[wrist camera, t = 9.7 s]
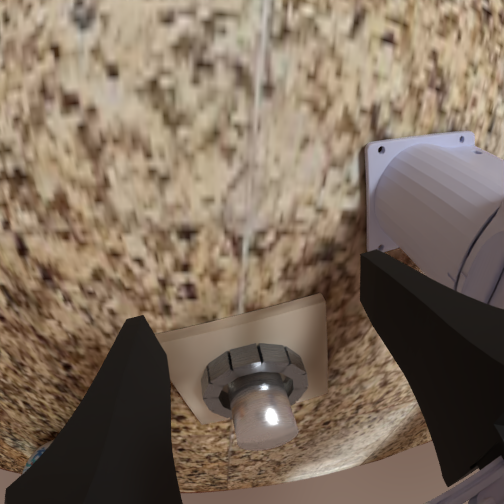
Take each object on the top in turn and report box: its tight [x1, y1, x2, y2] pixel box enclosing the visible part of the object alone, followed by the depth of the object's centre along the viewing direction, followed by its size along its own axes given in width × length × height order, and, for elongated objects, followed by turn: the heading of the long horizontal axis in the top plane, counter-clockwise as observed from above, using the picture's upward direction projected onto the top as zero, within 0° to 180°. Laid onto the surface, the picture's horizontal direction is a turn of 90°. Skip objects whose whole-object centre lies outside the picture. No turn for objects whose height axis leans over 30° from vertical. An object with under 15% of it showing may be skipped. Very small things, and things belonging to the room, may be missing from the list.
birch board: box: [155, 293, 328, 425], centre depth 26 cm, size 13×13×1 cm
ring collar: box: [201, 343, 308, 419], centre depth 25 cm, size 8×8×2 cm
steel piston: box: [227, 372, 298, 451], centre depth 23 cm, size 4×4×6 cm
